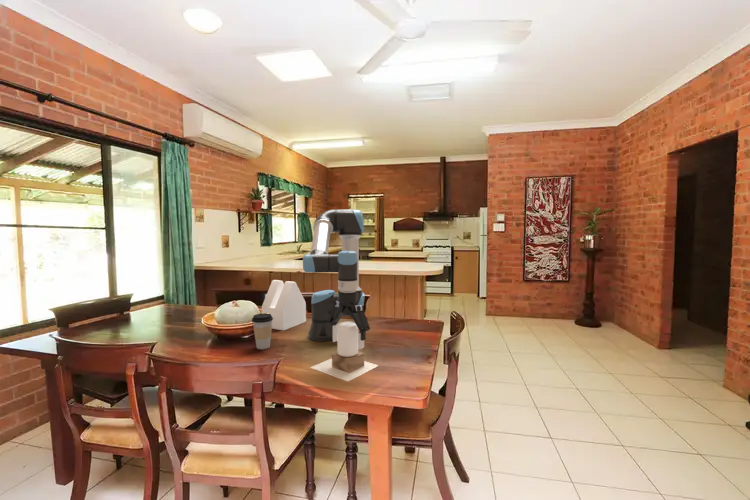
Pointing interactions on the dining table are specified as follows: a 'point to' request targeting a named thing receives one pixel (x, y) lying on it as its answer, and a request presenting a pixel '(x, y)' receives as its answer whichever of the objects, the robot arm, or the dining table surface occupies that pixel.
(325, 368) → the build board
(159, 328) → the dining table surface
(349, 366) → the walnut block
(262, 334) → the coffee cup
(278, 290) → the white slotted holder
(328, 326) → the robot arm
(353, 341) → the beverage can
